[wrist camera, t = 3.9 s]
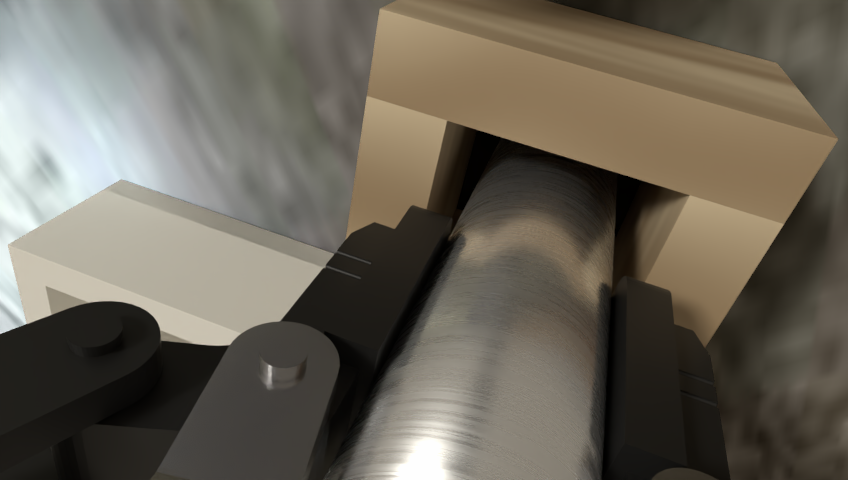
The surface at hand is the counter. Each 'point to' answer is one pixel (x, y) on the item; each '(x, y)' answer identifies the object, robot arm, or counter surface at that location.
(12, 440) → the robot arm
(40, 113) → the counter surface
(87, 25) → the counter surface
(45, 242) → the tray
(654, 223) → the pin block
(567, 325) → the pin
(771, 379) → the counter surface
